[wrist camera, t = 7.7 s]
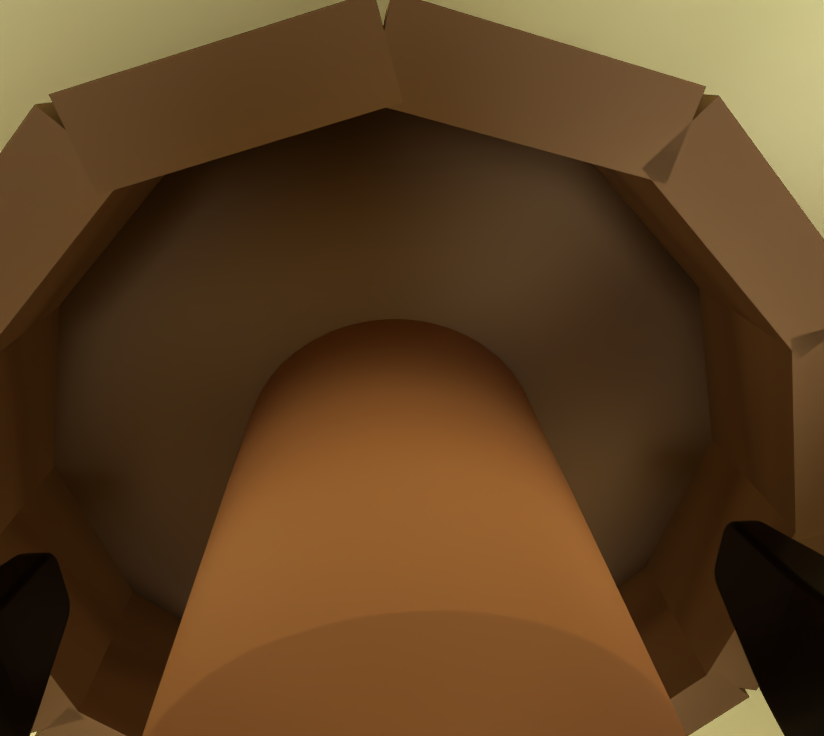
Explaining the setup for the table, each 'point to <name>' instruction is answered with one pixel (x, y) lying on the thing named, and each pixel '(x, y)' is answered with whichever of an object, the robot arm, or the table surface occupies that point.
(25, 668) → the robot arm
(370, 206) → the round tray
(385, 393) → the cylinder
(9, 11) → the table surface
